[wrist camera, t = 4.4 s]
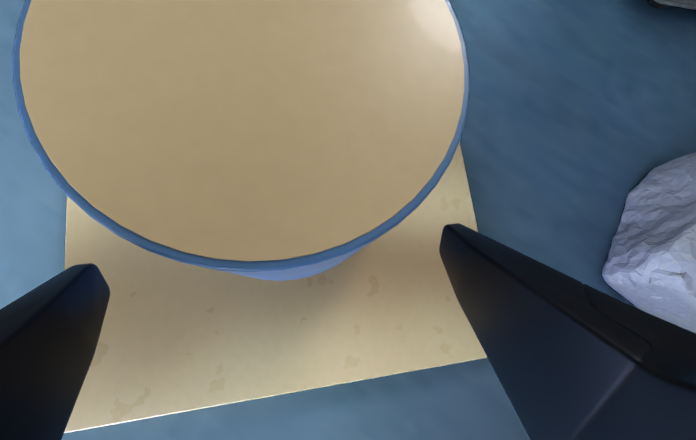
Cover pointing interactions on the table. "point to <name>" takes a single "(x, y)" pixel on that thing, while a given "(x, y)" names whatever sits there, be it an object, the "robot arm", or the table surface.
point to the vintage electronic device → (674, 3)
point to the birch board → (269, 318)
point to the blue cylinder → (244, 121)
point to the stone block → (659, 244)
